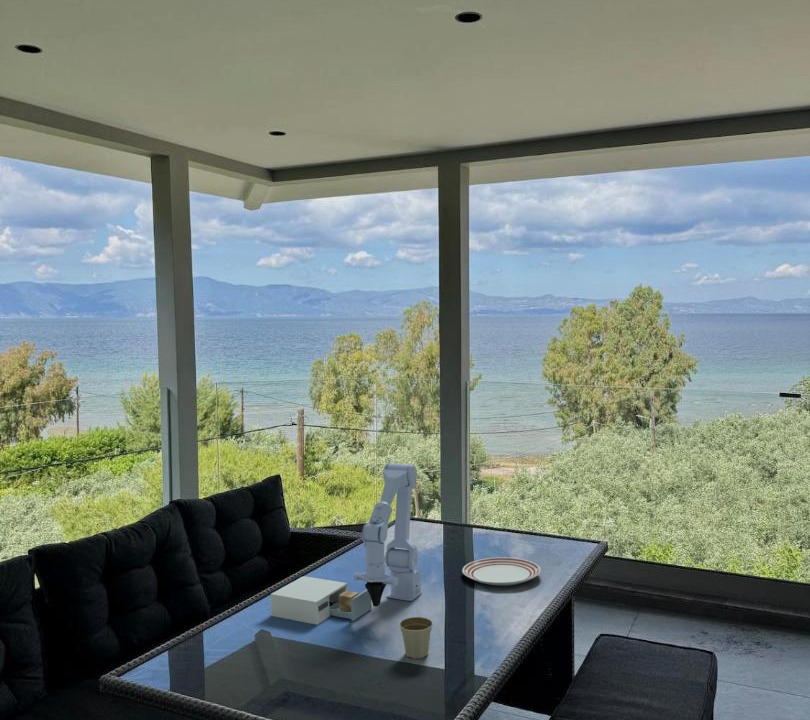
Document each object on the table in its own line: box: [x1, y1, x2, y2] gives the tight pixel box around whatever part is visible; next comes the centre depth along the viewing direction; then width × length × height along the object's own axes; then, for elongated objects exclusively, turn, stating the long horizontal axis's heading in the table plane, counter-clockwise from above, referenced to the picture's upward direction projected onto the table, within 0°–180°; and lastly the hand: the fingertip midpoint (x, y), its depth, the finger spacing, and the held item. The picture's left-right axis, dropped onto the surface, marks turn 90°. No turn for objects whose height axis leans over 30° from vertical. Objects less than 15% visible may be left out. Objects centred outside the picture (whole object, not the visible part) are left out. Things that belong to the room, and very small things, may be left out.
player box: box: [270, 575, 348, 626], centre depth 245 cm, size 17×18×7 cm
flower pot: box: [398, 616, 434, 660], centre depth 211 cm, size 9×9×9 cm
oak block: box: [339, 590, 359, 613], centre depth 243 cm, size 4×4×5 cm
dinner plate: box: [461, 556, 542, 587], centre depth 272 cm, size 28×27×3 cm
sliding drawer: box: [329, 588, 372, 622], centre depth 242 cm, size 10×11×7 cm
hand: (376, 605), depth 238 cm, fingers closed
